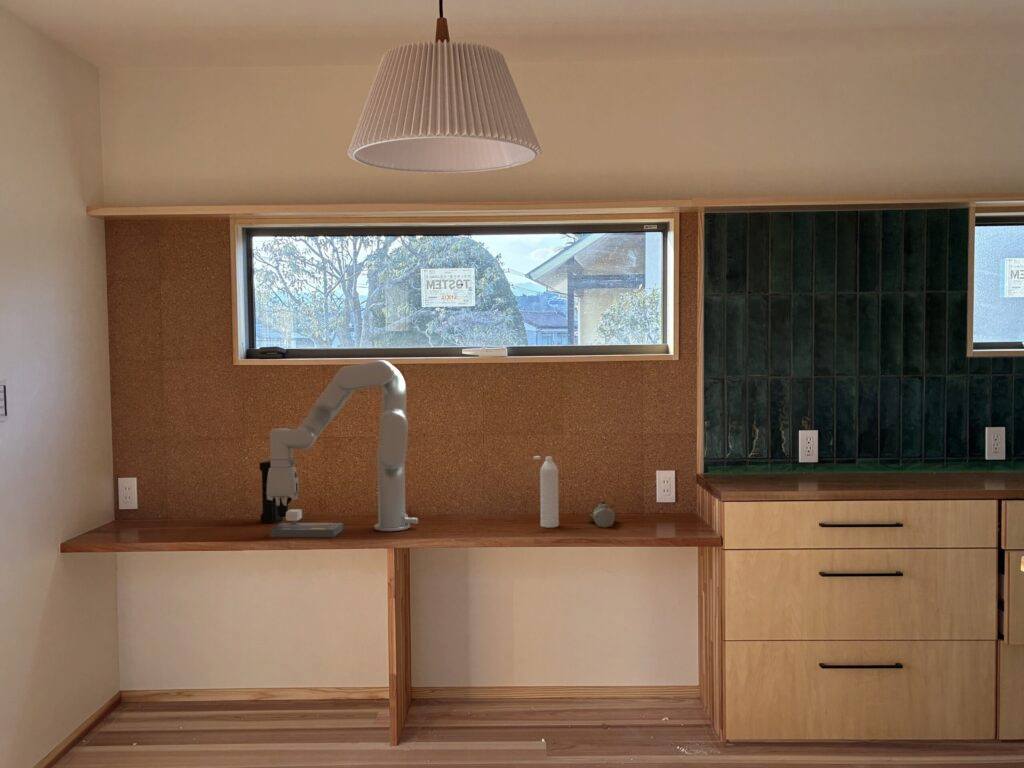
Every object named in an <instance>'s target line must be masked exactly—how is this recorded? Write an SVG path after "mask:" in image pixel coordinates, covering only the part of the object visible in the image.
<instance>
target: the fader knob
mask: <svg viewBox="0 0 1024 768" xmlns="http://www.w3.org/2000/svg"><path fill="white" fill-rule="evenodd" d="M301 519H303V509H300V508H298V509H297V508H296V509H294V508H293V509H292V508H291V509H288V511H287V512H286V516H285V521H286V522H289V521H291V523H292V525H296V523H297V522H298V521H299V520H301Z"/></svg>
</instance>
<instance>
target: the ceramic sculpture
mask: <svg viewBox="0 0 1024 768" xmlns="http://www.w3.org/2000/svg"><path fill="white" fill-rule="evenodd" d="M587 519H588V520H589V521H591V522H594V523H595V524H596V525H597V526H598V527H599V528H610V527H612V526H613V525H614V523H615V520H616V519H617V514H616V513H614V511H613V510H612V508H611V507H610V506H609V505H608V503H607V502H605V501H601V502H600V503H599V504H598V505H596V506H595V507H594V509H593V512H592V514H591V513H588V514H587Z"/></svg>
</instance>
